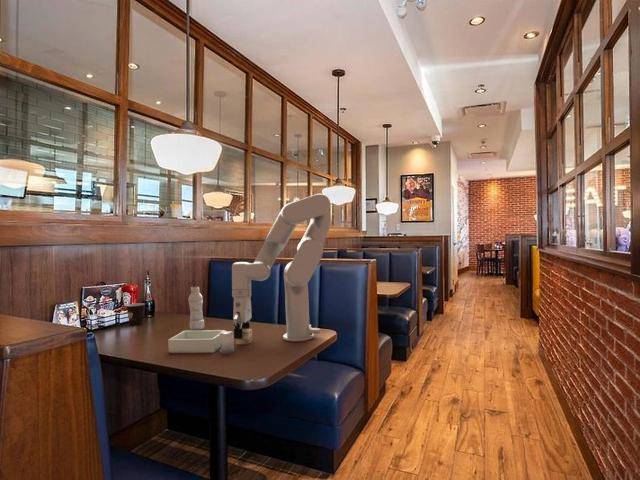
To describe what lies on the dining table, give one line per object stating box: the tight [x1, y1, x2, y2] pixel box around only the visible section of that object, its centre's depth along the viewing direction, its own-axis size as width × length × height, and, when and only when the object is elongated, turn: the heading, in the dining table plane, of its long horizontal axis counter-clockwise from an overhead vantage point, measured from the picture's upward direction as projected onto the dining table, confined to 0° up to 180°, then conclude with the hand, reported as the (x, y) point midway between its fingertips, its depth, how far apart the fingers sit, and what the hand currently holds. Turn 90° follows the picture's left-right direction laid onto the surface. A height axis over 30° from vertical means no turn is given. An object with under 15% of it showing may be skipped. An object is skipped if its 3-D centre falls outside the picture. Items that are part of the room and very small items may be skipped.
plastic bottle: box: [187, 286, 205, 331], centre depth 182 cm, size 6×7×20 cm
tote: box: [167, 329, 227, 354], centre depth 153 cm, size 18×14×5 cm
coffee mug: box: [126, 302, 149, 327], centre depth 198 cm, size 12×9×10 cm
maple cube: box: [235, 328, 253, 345], centre depth 158 cm, size 5×5×5 cm
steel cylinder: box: [219, 330, 235, 355], centre depth 146 cm, size 5×5×7 cm
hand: (242, 335), depth 158 cm, fingers open, 9 cm apart
